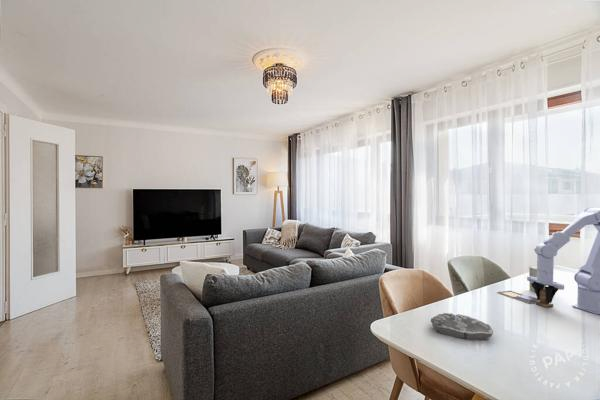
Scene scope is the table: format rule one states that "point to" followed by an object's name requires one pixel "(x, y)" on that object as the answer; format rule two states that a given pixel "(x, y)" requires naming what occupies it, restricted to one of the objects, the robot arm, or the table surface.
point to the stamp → (543, 300)
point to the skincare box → (534, 274)
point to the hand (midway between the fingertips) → (544, 301)
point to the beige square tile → (510, 294)
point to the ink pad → (527, 298)
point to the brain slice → (461, 327)
